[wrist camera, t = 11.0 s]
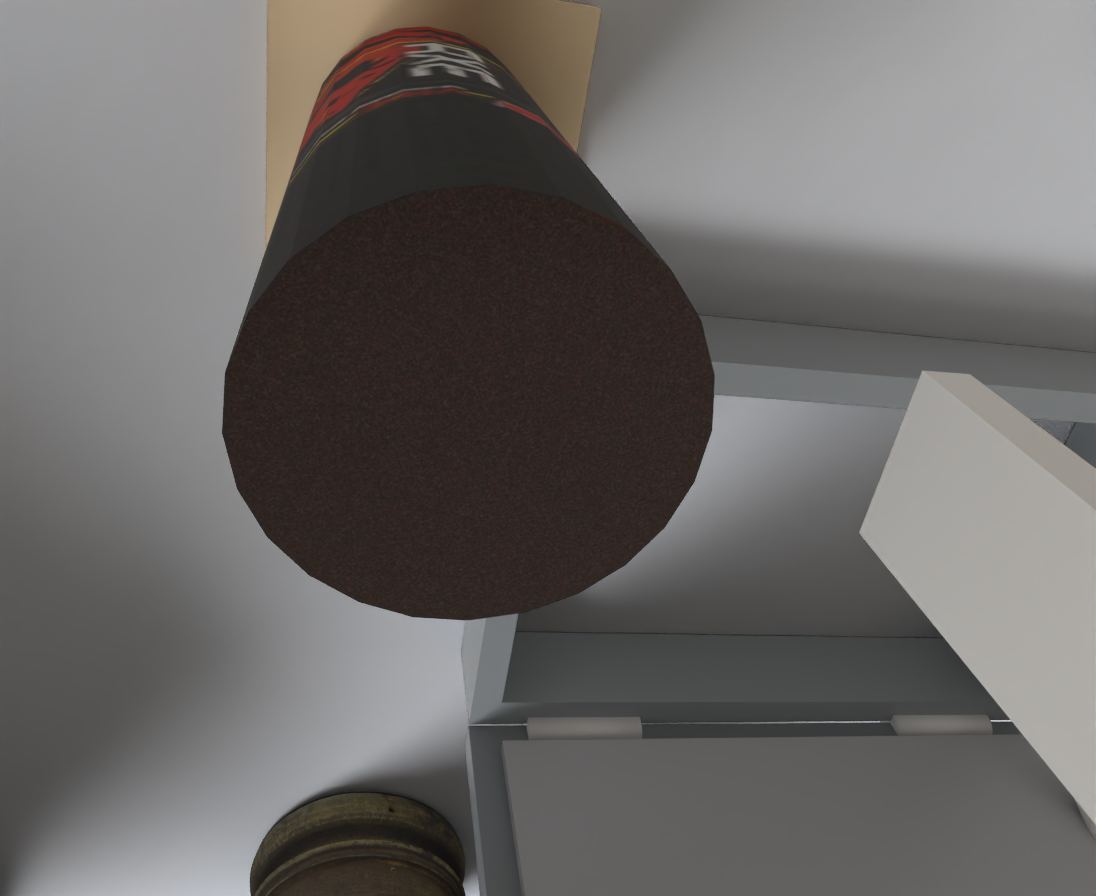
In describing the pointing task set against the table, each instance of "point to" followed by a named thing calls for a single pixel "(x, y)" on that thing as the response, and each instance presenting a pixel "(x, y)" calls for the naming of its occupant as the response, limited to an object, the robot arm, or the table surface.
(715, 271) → the table surface
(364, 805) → the container
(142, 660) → the table surface
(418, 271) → the deodorant
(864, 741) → the case
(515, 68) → the pad
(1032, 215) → the table surface
